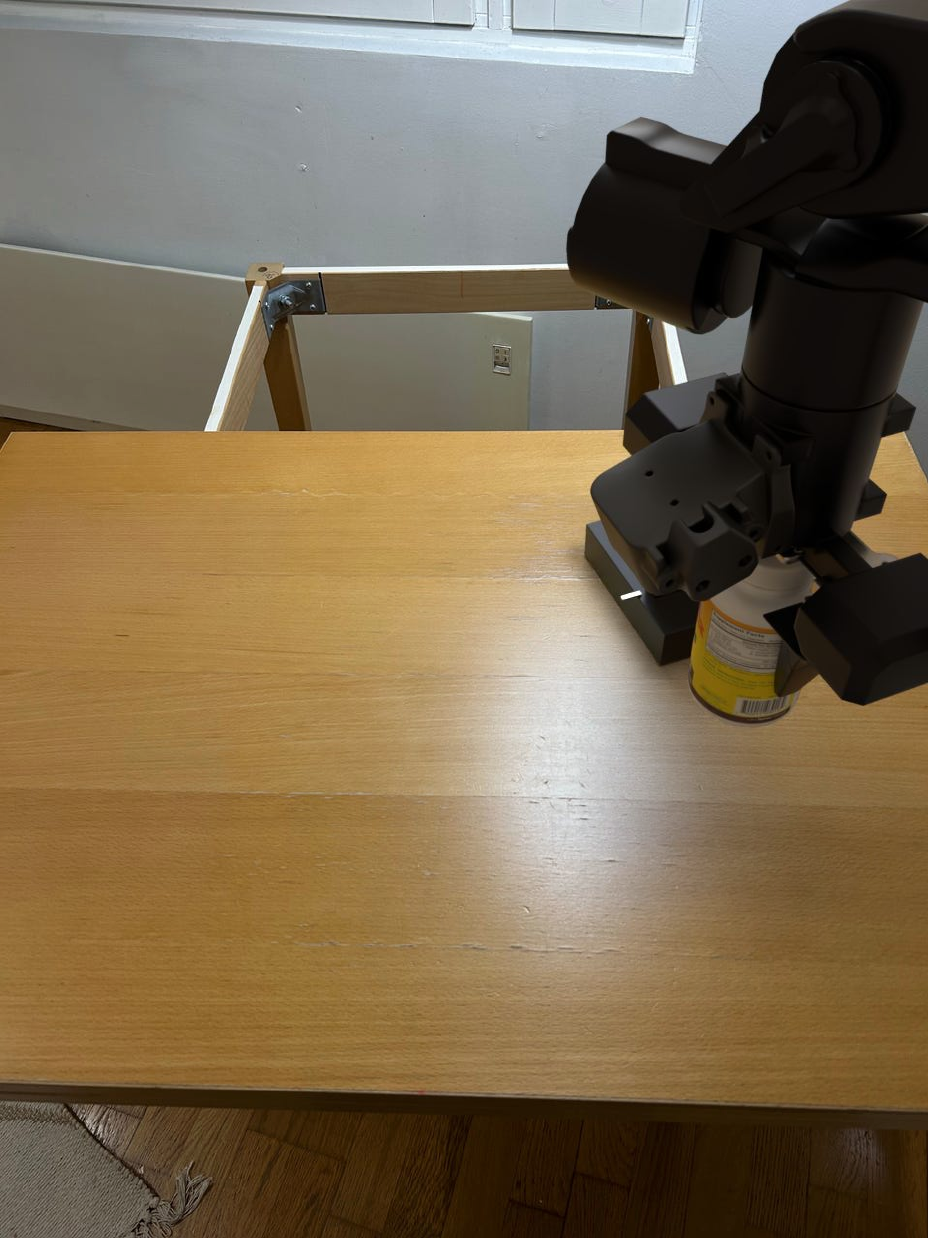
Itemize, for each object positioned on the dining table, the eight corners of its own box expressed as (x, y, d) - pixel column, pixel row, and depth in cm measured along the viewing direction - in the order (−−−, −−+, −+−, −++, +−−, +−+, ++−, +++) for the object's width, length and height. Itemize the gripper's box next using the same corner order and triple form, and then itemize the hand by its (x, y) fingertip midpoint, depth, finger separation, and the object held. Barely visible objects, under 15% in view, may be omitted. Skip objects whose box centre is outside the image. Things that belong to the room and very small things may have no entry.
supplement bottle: (727, 635, 53) (759, 483, 46) (818, 689, 50) (868, 537, 43) (662, 692, 50) (686, 541, 43) (754, 753, 48) (796, 602, 40)
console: (847, 615, 68) (858, 582, 65) (649, 677, 64) (654, 644, 62) (749, 508, 76) (756, 475, 74) (570, 558, 73) (571, 525, 71)
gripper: (524, 305, 42) (524, 575, 53) (774, 585, 29) (704, 861, 40) (753, 252, 44) (706, 521, 55) (1074, 490, 32) (930, 775, 43)
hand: (750, 650), depth 48 cm, fingers closed on supplement bottle, 5 cm apart
